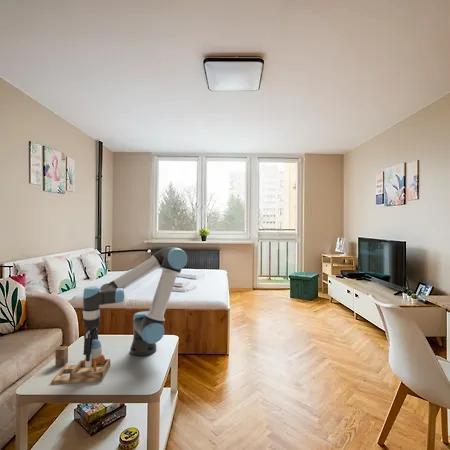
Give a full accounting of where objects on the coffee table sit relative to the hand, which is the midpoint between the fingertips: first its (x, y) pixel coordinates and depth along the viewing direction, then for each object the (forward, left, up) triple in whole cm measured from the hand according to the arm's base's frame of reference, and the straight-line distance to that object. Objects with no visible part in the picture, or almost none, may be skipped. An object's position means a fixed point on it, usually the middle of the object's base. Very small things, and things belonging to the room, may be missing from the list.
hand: (91, 362), depth 147 cm
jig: (+4, 0, -6) cm, 7 cm away
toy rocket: (0, -1, -3) cm, 3 cm away
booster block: (+19, -12, -6) cm, 23 cm away
